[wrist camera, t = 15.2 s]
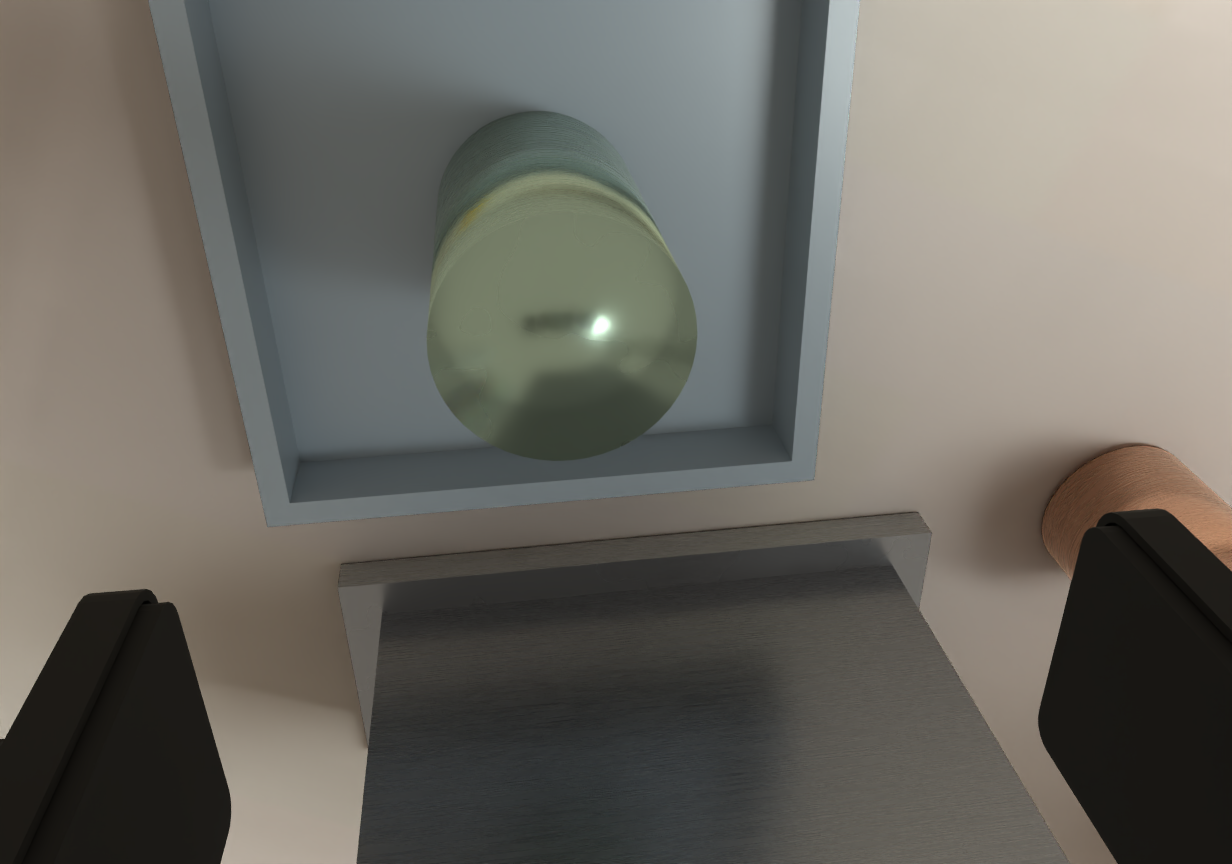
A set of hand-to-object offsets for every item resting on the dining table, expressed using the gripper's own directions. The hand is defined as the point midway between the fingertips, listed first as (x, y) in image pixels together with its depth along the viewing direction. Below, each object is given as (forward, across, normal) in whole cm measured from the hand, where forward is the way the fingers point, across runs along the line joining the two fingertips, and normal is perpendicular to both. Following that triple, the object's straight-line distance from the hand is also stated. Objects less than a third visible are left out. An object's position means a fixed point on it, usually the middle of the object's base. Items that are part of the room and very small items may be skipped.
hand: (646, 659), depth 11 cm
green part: (+14, 0, 0) cm, 14 cm away
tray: (+15, +1, 0) cm, 15 cm away
